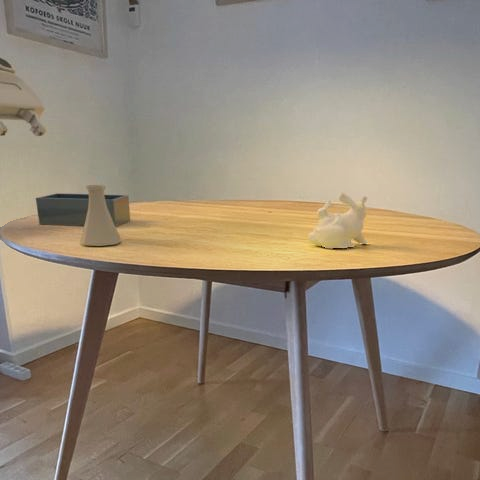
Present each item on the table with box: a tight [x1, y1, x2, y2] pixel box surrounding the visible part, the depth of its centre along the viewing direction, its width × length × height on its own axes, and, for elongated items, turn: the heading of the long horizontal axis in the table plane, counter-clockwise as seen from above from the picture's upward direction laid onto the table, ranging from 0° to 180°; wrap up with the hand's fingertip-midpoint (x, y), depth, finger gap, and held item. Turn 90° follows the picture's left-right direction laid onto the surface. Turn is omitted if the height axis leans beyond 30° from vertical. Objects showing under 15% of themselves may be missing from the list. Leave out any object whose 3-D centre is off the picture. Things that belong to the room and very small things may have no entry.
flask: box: [79, 184, 122, 247], centre depth 82 cm, size 7×7×10 cm
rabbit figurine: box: [307, 191, 369, 249], centre depth 81 cm, size 12×8×10 cm, turn 88°
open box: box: [35, 192, 131, 228], centre depth 103 cm, size 17×9×6 cm, turn 83°
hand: (23, 133), depth 80 cm, fingers open, 8 cm apart
